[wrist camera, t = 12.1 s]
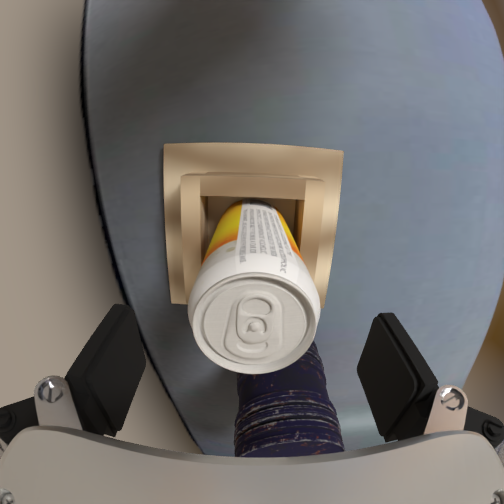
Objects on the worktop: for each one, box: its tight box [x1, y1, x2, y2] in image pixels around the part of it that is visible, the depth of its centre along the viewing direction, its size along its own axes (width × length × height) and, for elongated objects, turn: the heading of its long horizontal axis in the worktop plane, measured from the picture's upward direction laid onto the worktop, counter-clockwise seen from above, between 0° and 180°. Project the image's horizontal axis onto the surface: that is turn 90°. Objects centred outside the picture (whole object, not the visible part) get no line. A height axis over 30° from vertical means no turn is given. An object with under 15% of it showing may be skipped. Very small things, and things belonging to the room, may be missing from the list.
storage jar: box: [234, 341, 345, 458], centre depth 25 cm, size 10×10×15 cm
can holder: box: [164, 143, 344, 308], centre depth 24 cm, size 16×16×5 cm
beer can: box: [188, 198, 320, 374], centre depth 18 cm, size 6×6×15 cm
